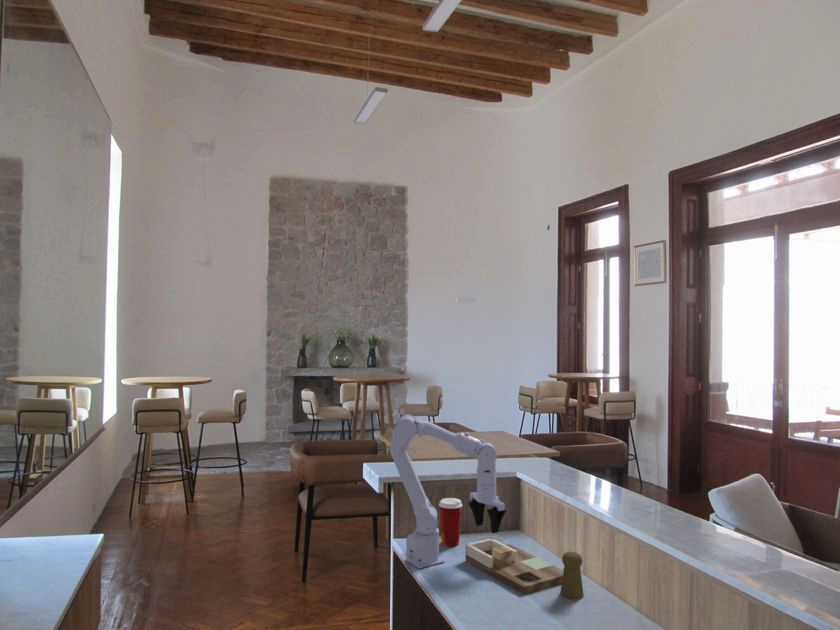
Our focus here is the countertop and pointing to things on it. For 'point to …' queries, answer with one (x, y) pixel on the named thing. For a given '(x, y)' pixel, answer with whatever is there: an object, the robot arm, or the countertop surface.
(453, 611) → the countertop surface
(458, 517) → the paper cup
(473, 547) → the cubby
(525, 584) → the board
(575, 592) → the cork
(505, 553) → the block
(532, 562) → the pad
